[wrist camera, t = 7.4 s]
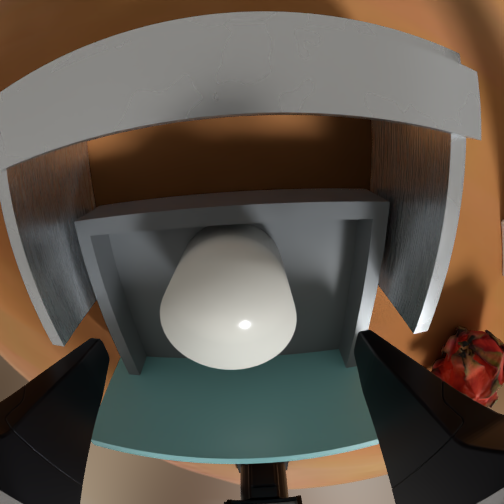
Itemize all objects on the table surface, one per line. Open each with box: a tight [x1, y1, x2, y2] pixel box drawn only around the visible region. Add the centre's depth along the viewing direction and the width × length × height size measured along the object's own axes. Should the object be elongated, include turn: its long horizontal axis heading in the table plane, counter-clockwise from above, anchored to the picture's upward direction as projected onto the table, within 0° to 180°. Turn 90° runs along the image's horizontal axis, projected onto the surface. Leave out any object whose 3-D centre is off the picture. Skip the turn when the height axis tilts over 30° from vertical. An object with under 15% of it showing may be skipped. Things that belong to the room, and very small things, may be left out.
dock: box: [0, 11, 481, 346], centre depth 10 cm, size 11×17×7 cm, turn 93°
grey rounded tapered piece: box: [160, 224, 297, 370], centre depth 12 cm, size 5×5×4 cm
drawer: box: [74, 188, 390, 464], centre depth 12 cm, size 11×17×8 cm, turn 93°
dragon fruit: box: [431, 326, 504, 407], centre depth 17 cm, size 8×8×12 cm
